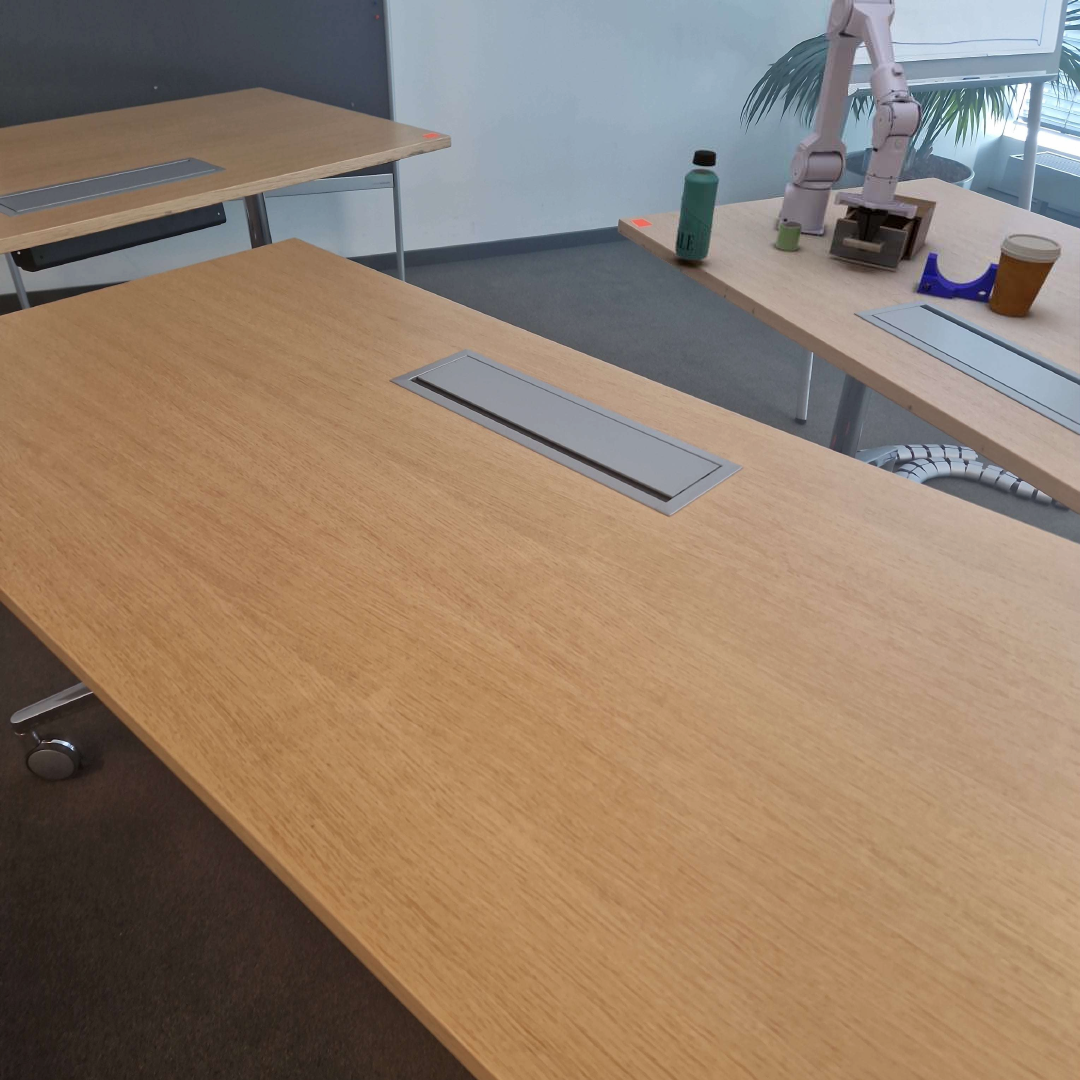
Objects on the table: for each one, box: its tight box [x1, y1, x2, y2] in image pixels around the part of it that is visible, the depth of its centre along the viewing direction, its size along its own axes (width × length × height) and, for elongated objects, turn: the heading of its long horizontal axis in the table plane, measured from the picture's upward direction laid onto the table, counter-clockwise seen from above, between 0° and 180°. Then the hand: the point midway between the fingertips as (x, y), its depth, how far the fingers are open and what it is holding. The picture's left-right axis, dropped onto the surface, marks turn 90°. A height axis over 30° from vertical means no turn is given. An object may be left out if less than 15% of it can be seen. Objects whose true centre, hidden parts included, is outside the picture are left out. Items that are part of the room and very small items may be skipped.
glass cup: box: [775, 221, 802, 252], centre depth 177 cm, size 4×4×5 cm
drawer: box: [828, 208, 917, 269], centre depth 172 cm, size 17×13×7 cm
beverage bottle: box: [674, 149, 720, 261], centre depth 163 cm, size 6×7×20 cm
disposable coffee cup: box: [988, 233, 1062, 317], centre depth 152 cm, size 10×10×12 cm
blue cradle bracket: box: [916, 252, 999, 303], centre depth 159 cm, size 12×4×6 cm, turn 65°
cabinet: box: [845, 194, 937, 261], centre depth 180 cm, size 13×14×8 cm
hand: (863, 249), depth 168 cm, fingers closed, pressing on drawer
